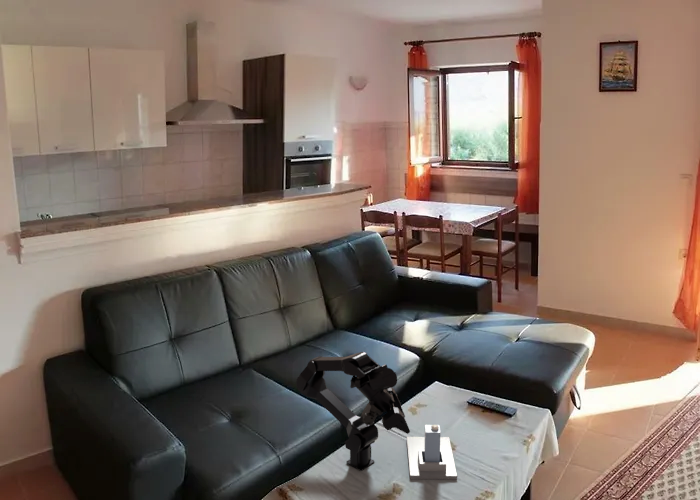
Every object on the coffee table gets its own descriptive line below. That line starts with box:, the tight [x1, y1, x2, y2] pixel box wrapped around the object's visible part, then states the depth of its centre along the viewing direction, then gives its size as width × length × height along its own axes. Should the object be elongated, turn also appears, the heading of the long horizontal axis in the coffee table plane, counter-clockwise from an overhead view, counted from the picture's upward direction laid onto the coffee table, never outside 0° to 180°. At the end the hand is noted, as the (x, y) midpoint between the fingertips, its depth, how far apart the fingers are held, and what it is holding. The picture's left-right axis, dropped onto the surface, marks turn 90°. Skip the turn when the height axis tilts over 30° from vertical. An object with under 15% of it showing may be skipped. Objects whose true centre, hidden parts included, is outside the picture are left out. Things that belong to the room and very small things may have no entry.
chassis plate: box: [406, 436, 458, 480], centre depth 206 cm, size 22×14×4 cm, turn 178°
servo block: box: [424, 424, 441, 462], centre depth 200 cm, size 4×4×13 cm
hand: (406, 424), depth 200 cm, fingers open, 9 cm apart
